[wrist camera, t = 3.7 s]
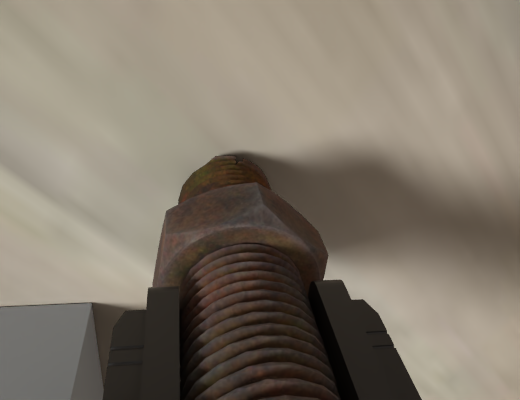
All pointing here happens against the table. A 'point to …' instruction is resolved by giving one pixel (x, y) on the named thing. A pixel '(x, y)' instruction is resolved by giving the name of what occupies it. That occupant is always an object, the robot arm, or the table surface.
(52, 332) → the socket block
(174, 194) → the table surface
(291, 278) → the bolt
